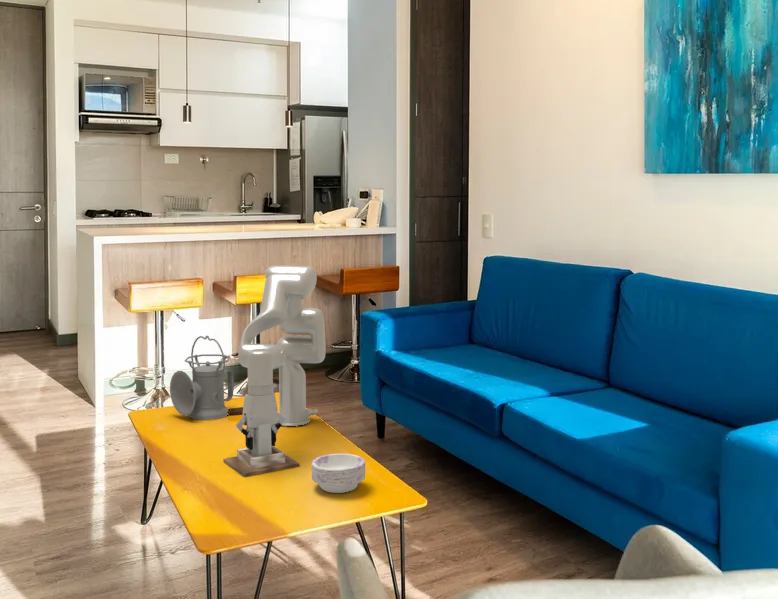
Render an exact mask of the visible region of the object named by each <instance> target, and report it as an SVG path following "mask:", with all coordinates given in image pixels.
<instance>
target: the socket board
mask: <svg viewBox="0 0 778 599" xmlns="http://www.w3.org/2000/svg"><path fill="white" fill-rule="evenodd" d="M271 449H272V454H271V455H265V456H260V457H252V450H250V449H248V448H247V447H244V448H239V449H238V448H237V450H236V452H237V456H232V457H225V458H223V461H222V462H223V463H224V462H225V463H224V464H225V465H227V466H228V467H230V468H231V467H232V468H231V469H233V470H234V471H235V470H236V472H237V473H238V474H239V475H241V476H242V477H244V478H247V477H253V476H257V475H256V474H258V475H261V474H266V473H267V474H268V473H272V472H277V471H282V470H287V469H293V468H298V467H300V462H298V461H297V460H295V459H294V458H292V457H290V456H288V455H287V454H286V453H285V452H284V451H282V450H281V449H279V448H277V447H276V446H272V445H271ZM252 475H253V476H252Z"/></svg>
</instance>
